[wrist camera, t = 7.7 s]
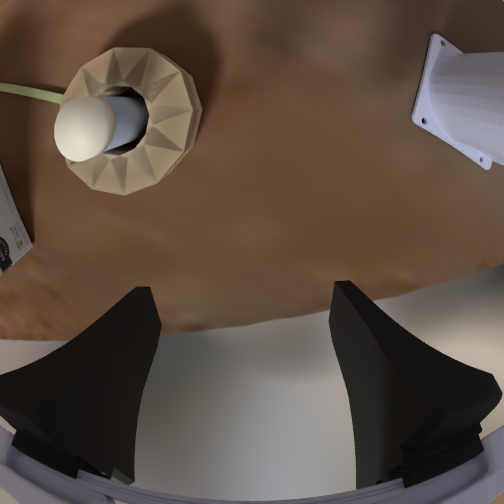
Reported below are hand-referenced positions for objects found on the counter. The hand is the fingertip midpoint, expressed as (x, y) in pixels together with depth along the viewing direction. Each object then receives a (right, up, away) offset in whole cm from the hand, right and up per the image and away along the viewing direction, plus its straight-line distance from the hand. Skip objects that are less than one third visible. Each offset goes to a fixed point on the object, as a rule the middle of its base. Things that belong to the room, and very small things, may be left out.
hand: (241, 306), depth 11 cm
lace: (-19, +15, +3) cm, 24 cm away
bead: (-7, +11, +5) cm, 14 cm away
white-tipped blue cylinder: (-7, +11, +5) cm, 14 cm away
